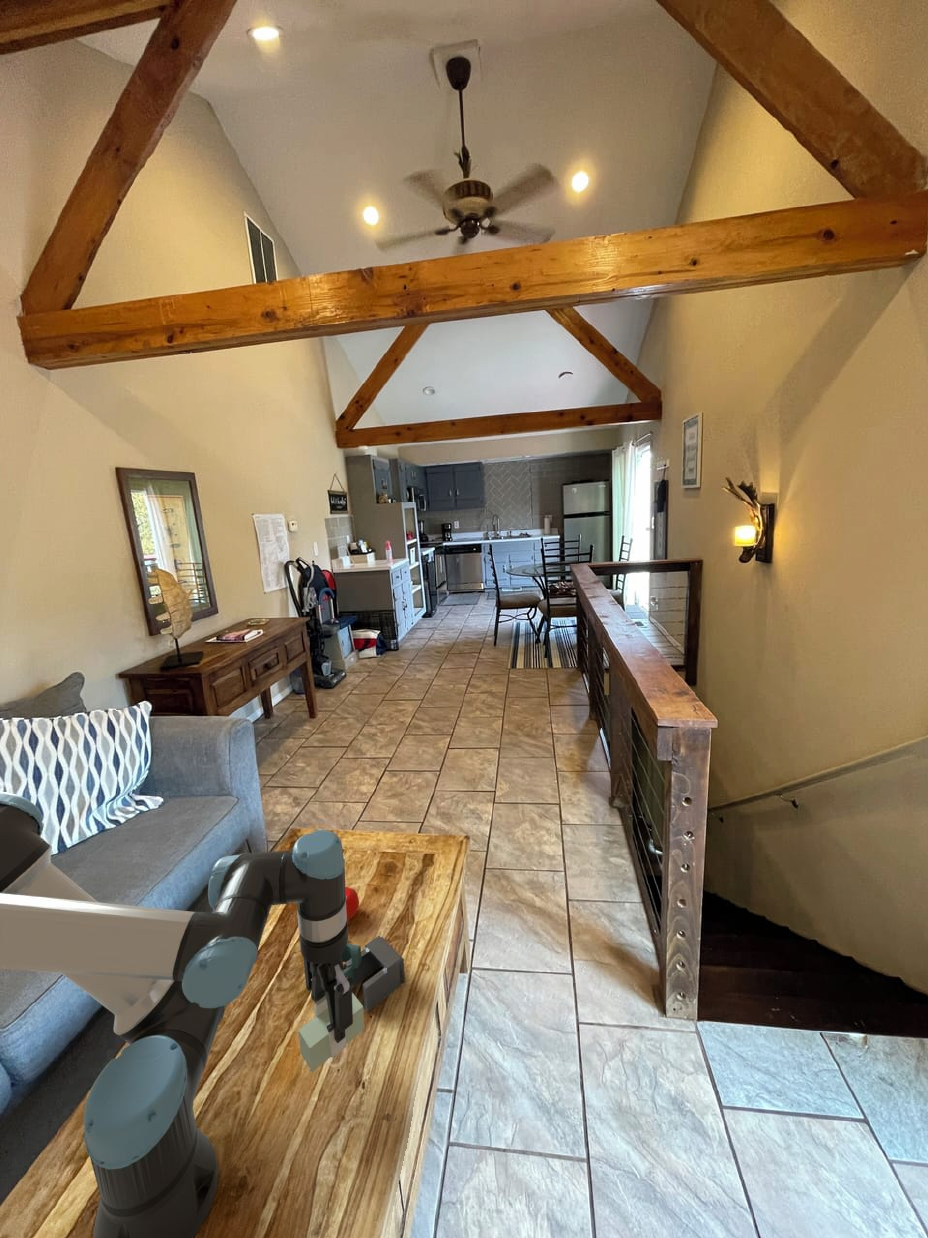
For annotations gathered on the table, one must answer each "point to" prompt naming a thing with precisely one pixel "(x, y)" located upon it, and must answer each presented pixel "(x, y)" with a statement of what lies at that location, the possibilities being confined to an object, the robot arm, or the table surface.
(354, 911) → the apple
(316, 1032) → the block
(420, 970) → the table surface
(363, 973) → the endcap
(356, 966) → the bracket
